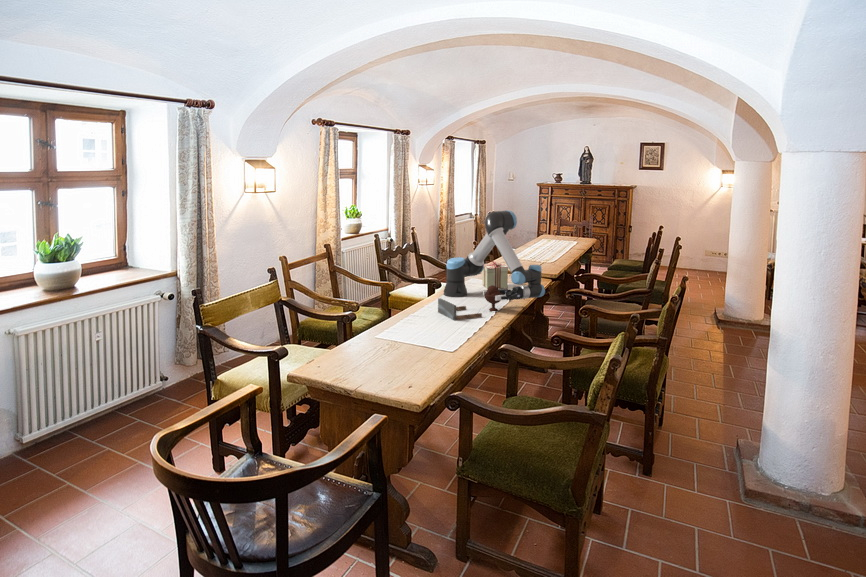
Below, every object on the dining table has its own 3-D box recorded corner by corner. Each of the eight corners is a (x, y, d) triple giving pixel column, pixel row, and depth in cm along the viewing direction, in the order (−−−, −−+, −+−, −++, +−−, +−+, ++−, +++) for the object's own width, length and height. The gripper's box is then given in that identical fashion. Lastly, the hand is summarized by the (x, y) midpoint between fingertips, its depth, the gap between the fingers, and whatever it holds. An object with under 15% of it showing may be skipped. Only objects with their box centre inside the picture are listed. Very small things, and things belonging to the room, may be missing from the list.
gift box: (476, 285, 415) (476, 260, 411) (501, 284, 419) (502, 259, 416) (484, 290, 399) (484, 264, 395) (510, 289, 403) (510, 263, 399)
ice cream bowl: (504, 312, 339) (505, 286, 336) (485, 312, 338) (485, 286, 335) (501, 308, 350) (502, 283, 346) (482, 308, 349) (483, 283, 346)
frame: (464, 309, 346) (465, 295, 345) (481, 317, 329) (482, 302, 328) (438, 312, 339) (438, 298, 337) (453, 320, 322) (454, 305, 320)
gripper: (532, 303, 340) (500, 306, 331) (508, 294, 362) (478, 297, 353) (533, 290, 338) (501, 293, 329) (509, 282, 360) (478, 285, 351)
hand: (489, 295), depth 341 cm, fingers open, 13 cm apart
